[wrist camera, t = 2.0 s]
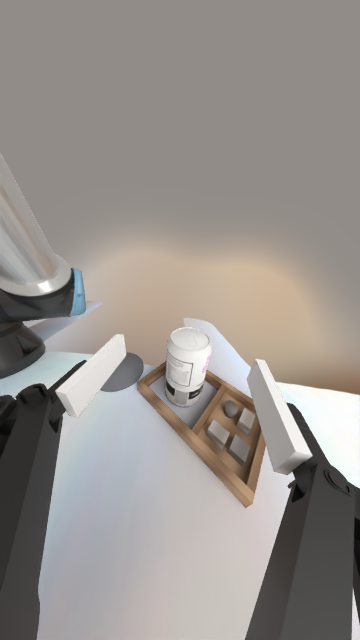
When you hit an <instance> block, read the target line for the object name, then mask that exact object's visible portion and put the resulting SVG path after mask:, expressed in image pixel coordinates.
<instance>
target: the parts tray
mask: <svg viewBox="0 0 360 640" xmlns="http://www.w3.org/2000/svg"><path fill="white" fill-rule="evenodd" d="M165 372H166V362H164V363H163V364H161V365H160V366H159V367H157V368H156V369H155V370H153V371H152V372H150V373H149V374H148V375H146V376H145V377H144V378H142V379H141V380H139V381H138V382H137V389H138V391H139V392H140V393H141V394H142V395H143V396H144V397H145V398H146V400H147V401H148V402H149V403H150V404H151V405H152V406H153V407H154V408H155V409H156V410H157V412H158V413H159V414H160V415H161V416H162V417H163V418H164V419H165V420H166V421H167V422H168V423H169V425H170V426H171V427H172V428H173V429H174V430H175V431H176V432H177V433H178V434H179V435H180V437H181V438H182V439H183V440H184V441H185V442H186V443H187V444H188V445H189V446H190V447H191V449H192V450H193V451H194V452H195V453H196V454H197V455H198V456H199V457H200V458H201V459H202V460H203V462H204V463H205V464H206V465H207V466H208V467H209V468H210V469H211V470H212V471H213V472H214V474H215V475H216V476H217V477H218V478H219V479H220V480H221V481H222V482H223V483H224V484H225V486H226V487H227V488H228V489H229V490H230V491H231V492H232V493H233V494H234V495H235V496H236V498H237V499H238V500H239V501H240V502H241V503H242V504H243V505H244V506H245V507H246V508H247V507H248V506H250V505H251V504H252V503H253V499H254V495H255V490H256V486H257V482H258V477H259V473H260V468H261V464H262V460H263V455H264V451H265V446H266V443H265V440H264V437H263V433H262V430H261V426H260V423H259V419H258V416H257V413H256V409H255V406H254V402H253V399H251V398H250V397H248V396H246V395H245V394H243V393H242V392H240V391H239V390H237V389H236V388H234V387H233V386H231V385H230V384H228V383H226V382H225V381H223V380H222V379H220V378H219V377H217V376H216V375H214V374H213V373H211V372H210V371H208V370H207V371H206V375H205V379H204V380H205V381H207V382H208V383H210V384H211V385H213V386H214V387H215V388H217V389H218V392H217V393H216V395H215V396H214V398H213V399H212V401H211V402H210V403H209V405H208V406H207V408H206V409H205V411H204V412H203V414H202V415H201V417H200V418H199V420H198V421H197V423H196V424H195V426H194V427H193V429H192V430H191V429H190V428H189V427H188V426H187V425H186V424H185V423H184V422H183V421H182V420H181V419H180V418H179V417H178V416H177V415H176V414H175V413H174V412H173V411H172V410H171V409H170V408H169V407H168V406H167V405H166V404H165V403H164V402H163V401H162V400H161V399H160V398H159V397H158V396H157V395H156V394H155V393H154V392H153V391H152V390H151V389H150V388H149V387H148V386H149V385H150V384H152V383H153V382H154V381H155V380H157V379H158V378H159V377H160V376H162V375H163V374H164V373H165Z"/></svg>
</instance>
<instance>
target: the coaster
mask: <svg viewBox="0 0 360 640" xmlns="http://www.w3.org/2000/svg"><path fill="white" fill-rule="evenodd" d="M142 372H143V362H142V360H141V358H140V357H139V356H137V355H135V354H132V353H126V356H125V358H124V359H123V360H122V362H121V363H120V364H119V365H118V367H117V368H116V369H115V371H114V372H113V373H112V374H111V376H110V377H109V378H108V380H107V381H106V382H105V383H104V385H103V386H102V387H101V389H100V390H102V391H106V392H114V391H119V390H123V389H125V388H127V387H129V386H131V385H132V384H133V383H135V382H136V381H137V380H138V379H139V377H140V376H141V374H142Z"/></svg>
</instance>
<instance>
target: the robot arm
mask: <svg viewBox="0 0 360 640" xmlns="http://www.w3.org/2000/svg"><path fill="white" fill-rule="evenodd" d="M85 310H86V302H85V293H84V285H83V278H82V273H81V271H80V270H79V269H75V268H70V266H69V264H68V263H67V262H66V261H65V260H64V259H63V258H62V257H60V256H58V255H57V254H54V253H53V251H52V249H51V247H50V245H49V244H48V242H47V240H46V238H45V236H44V234H43V232H42V230H41V228H40V227H39V225H38V223H37V221H36V219H35V217H34V215H33V214H32V211H31V209H30V208H29V206H28V204H27V202H26V200H25V198H24V196H23V194H22V192H21V191H20V189H19V187H18V185H17V183H16V181H15V179H14V177H13V176H12V173H11V172H10V170H9V168H8V166H7V164H6V162H5V160H4V158H3V157H2V155H1V153H0V379H1V378H4V377H7V376H9V375H12V374H14V373H16V372H18V371H20V370H22V369H24V368H26V367H28V366H29V365H31V364H32V363H34V362H35V361H36V360H37V359H39V358H40V357H41V356H42V354H43V353H44V351H45V345H44V343H43V341H42V339H41V338H40V337H38V336H37V335H36V334H35V333H33V332H32V331H31V330H30V329H29V328H27V327H26V326H25V325H24V324H23V322H22V321H30V320H39V319H48V318H57V317H67V316H68V317H71V316H74V315H80V314H83V313H84V312H85ZM125 356H126V348H125V341H124V335H121V334H116V335H115V336H114V337H113V338H112V339H111V340H110V341H109V342H107V343H106V344H105V345H104V346H103V347H102V348H101V349H100V350H99V351H98V352H97V353H96V354H94V355H93V356H92V357H91V358H90V359H89V360H88V361H86V360H83V361H82V362H80V363H78V364H77V365H75V366H74V367H73V368H72V369H71V370H70V371H69V372H67V374H65V375H64V376H63V377H62V378H61V379H59V380H58V381H57V382H56V383H55V384H54V385H53V386H51V387H50V388H49V389H48V390H47V388H46V387H45V385H44V384H40V383H39V384H34V385H31V386H28V387H27V388H25V389H23V390H22V391H21V392H20V393H18V395H17V396H16V397H15V398H16V400H14V398H13V397H12V396H10V395H4V396H0V640H36V639H37V632H38V624H39V614H40V602H39V596H38V583H39V576H40V569H41V563H42V556H43V549H44V542H45V535H46V529H47V522H48V515H49V508H50V502H51V495H52V488H53V481H54V475H55V468H56V461H57V454H58V447H59V441H60V434H61V427H62V420H63V413H64V412H65V411H66V412H67V413H68V415H70V416H73V417H77V418H78V417H79V416H80V414H81V413H82V412H83V411H84V409H85V408H86V407H87V405H88V404H89V403H90V402H91V400H92V399H93V398H94V396H95V395H96V394H97V392H98V391H99V390H100V389H101V387H102V386H103V385H104V383H105V382H106V381H107V380H108V378H109V377H110V376H111V374H112V373H113V372H114V371H115V369H116V368H117V367H118V365H119V364H120V363H121V362H122V360H123V359H124V358H125ZM247 382H248V385H249V389H250V392H251V396H252V399H253V402H254V406H255V409H256V413H257V416H258V419H259V423H260V426H261V430H262V433H263V437H264V440H265V443H266V447H267V450H268V454H269V457H270V460H271V464H272V467H273V471H274V472H278V473H282V474H285V475H288V474H290V473H291V472H293V474H294V477H295V480H294V481H292V482H291V483H290V484H289V485H288V486H287V487H288V488H289V489H290V488H291V487H292V488H291V492H290V495H289V498H288V501H287V505H286V508H285V511H284V514H283V518H282V521H281V524H280V527H279V531H278V534H277V537H276V540H275V544H274V547H273V550H272V553H271V557H270V560H269V563H268V566H267V569H266V573H265V576H264V579H263V582H262V586H261V589H260V592H259V595H258V599H257V602H256V605H255V608H254V612H253V615H252V618H251V621H250V625H249V628H248V631H247V634H246V638H245V640H351V634H352V595H353V589H354V595H355V601H356V606H357V612H358V617H359V623H360V489H359V488H358V487H356V486H354V485H352V484H351V483H349V482H348V481H347V480H346V478H345V477H344V476H343V475H342V474H341V473H340V472H339V471H338V470H337V469H336V468H334V467H333V466H331V465H330V463H329V462H328V460H327V458H326V457H325V455H324V453H323V451H322V450H321V448H320V446H319V444H318V443H317V441H316V439H315V437H314V435H313V434H312V432H311V430H310V428H309V427H308V425H307V423H306V422H305V419H304V418H303V416H302V414H301V412H300V411H299V410H298V409H297V408H296V407H295V406H294V405H293V404H290V403H286V402H285V400H284V398H283V396H282V394H281V392H280V390H279V388H278V386H277V384H276V382H275V380H274V378H273V376H272V374H271V372H270V370H269V368H268V366H267V364H266V362H265V361H264V360H260V359H255V362H254V364H253V366H252V368H251V370H250V373H249V375H248V377H247Z"/></svg>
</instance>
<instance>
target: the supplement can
mask: <svg viewBox="0 0 360 640" xmlns="http://www.w3.org/2000/svg"><path fill="white" fill-rule="evenodd" d="M211 351H212V346H211V343H210V339H209V336H208V335H207V334H206V333H205V332H203V331H201V330H199V329H196V328H191V327H183V328H179V329H177V330H175V331H173V333H172V334H171V337H170V338H169V339H168V341H167V360H166V381H165V392H166V395H167V397H168V399H169V400H170V401H171V402H172V403H174V404H175V405H177V406H181V407H188V406H192V405H193V404H195V403H196V402H197V401H198V400H199V398H200V395H201V391H202V387H203V383H204V379H205V375H206V371H207V367H208V363H209V359H210V355H211Z"/></svg>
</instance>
